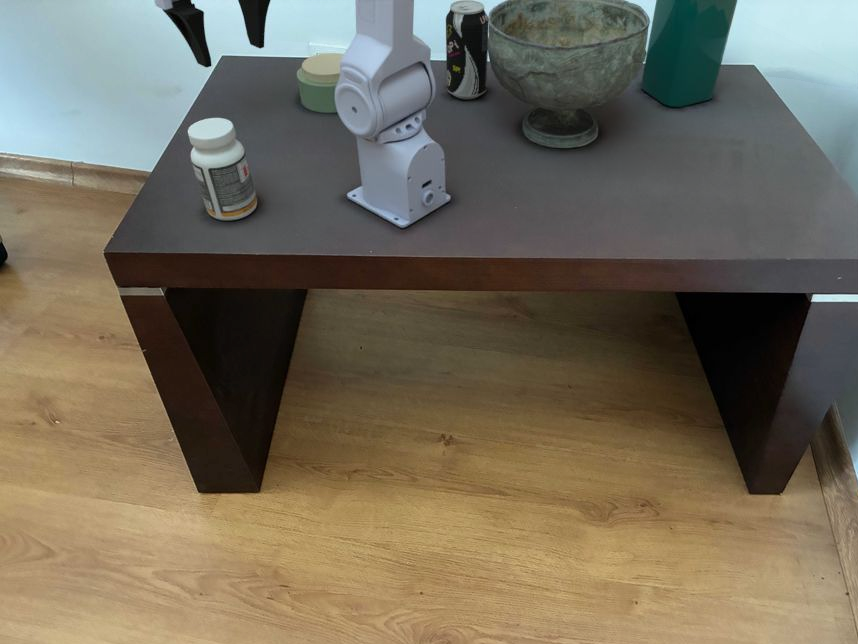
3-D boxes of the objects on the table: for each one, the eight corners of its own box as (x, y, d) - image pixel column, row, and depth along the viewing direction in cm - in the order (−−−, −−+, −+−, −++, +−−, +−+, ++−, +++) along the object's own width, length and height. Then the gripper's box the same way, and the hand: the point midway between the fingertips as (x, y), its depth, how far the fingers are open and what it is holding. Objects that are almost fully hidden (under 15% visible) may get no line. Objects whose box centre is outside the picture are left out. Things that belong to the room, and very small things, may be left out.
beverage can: (439, 89, 103) (437, 2, 95) (474, 81, 105) (475, -5, 97) (459, 105, 100) (458, 16, 91) (494, 96, 102) (496, 8, 93)
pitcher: (634, 86, 104) (664, -85, 89) (682, 76, 107) (719, -93, 91) (675, 115, 98) (715, -65, 82) (724, 103, 100) (772, -73, 85)
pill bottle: (264, 196, 83) (246, 116, 76) (249, 224, 79) (228, 142, 72) (217, 193, 83) (194, 113, 76) (199, 221, 79) (173, 139, 72)
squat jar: (377, 97, 101) (374, 62, 98) (329, 119, 97) (324, 83, 93) (336, 79, 106) (332, 45, 102) (287, 99, 101) (281, 64, 97)
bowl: (580, 86, 104) (593, -25, 94) (660, 145, 92) (686, 25, 81) (458, 113, 98) (457, -3, 87) (526, 180, 86) (535, 55, 75)
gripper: (237, -90, 83) (260, 30, 93) (122, -63, 76) (160, 64, 85) (273, -79, 80) (294, 44, 90) (157, -50, 72) (193, 80, 82)
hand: (231, 55), depth 87 cm, fingers open, 7 cm apart
